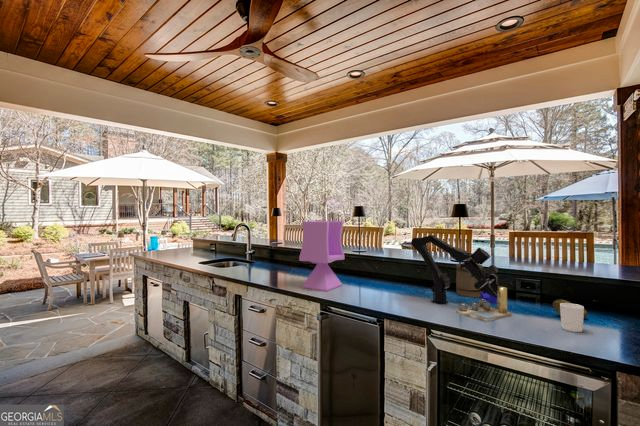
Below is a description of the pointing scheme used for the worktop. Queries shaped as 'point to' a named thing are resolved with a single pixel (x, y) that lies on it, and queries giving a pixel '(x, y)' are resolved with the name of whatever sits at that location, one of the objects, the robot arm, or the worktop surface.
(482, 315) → the grey flat square plate
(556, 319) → the worktop surface
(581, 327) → the white cup
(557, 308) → the potato
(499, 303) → the tall brass spacer
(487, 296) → the cable clip
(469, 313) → the board
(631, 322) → the worktop surface
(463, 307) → the short steel spacers
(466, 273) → the wooden container
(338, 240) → the purple pedestal chair
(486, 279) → the robot arm
